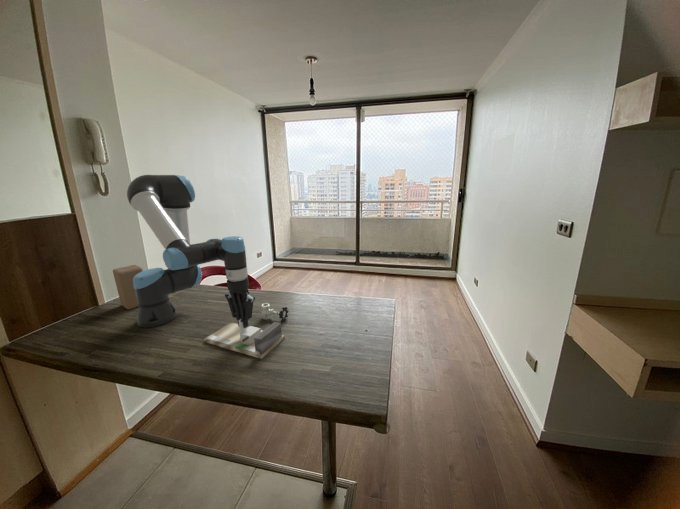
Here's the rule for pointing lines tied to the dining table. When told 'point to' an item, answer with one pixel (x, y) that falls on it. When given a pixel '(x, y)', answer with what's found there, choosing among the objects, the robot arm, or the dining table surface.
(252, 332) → the white rectangular block
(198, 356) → the dining table surface
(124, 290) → the wooden block
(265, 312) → the valve
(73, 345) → the dining table surface
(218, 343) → the board
